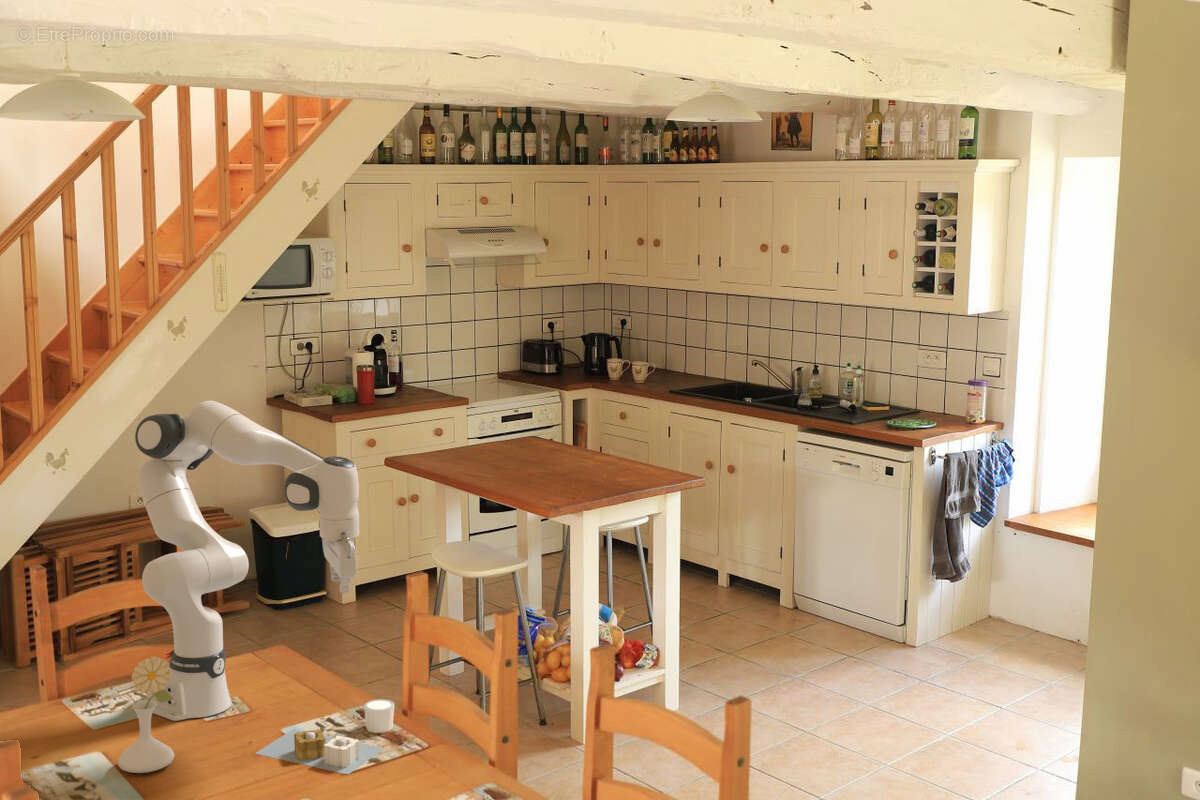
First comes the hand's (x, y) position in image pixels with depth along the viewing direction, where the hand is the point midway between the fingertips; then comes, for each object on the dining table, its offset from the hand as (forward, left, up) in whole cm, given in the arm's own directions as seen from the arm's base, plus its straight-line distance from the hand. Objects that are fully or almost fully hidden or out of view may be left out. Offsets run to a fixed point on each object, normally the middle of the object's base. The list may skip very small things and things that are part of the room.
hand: (340, 586), depth 274 cm
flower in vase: (-24, -36, -33) cm, 55 cm away
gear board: (+6, -17, -33) cm, 38 cm away
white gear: (+13, -19, -32) cm, 39 cm away
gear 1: (+5, -19, -32) cm, 37 cm away
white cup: (+11, -1, -33) cm, 35 cm away
